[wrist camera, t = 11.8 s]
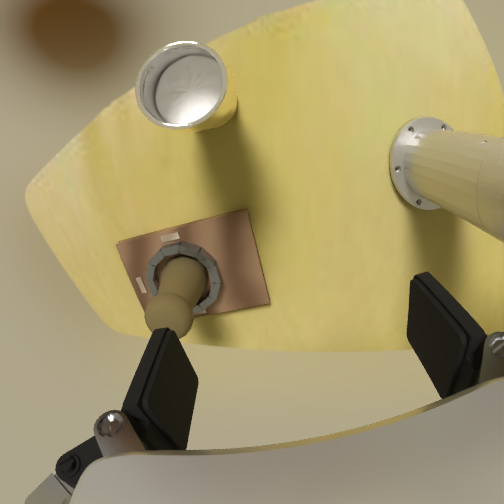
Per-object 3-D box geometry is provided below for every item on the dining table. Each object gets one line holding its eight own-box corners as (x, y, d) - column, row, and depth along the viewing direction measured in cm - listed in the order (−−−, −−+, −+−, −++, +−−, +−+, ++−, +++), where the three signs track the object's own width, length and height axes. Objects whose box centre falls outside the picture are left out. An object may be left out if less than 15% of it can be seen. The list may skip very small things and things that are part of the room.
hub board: (246, 208, 36) (246, 211, 34) (269, 298, 41) (269, 304, 39) (119, 241, 38) (114, 245, 36) (152, 319, 42) (149, 324, 41)
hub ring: (208, 234, 36) (206, 238, 34) (229, 300, 39) (228, 306, 38) (139, 251, 37) (135, 255, 35) (164, 311, 40) (162, 317, 39)
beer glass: (252, 91, 30) (250, 61, 16) (222, 141, 33) (199, 149, 19) (199, 66, 29) (162, 26, 15) (171, 116, 31) (116, 110, 17)
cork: (218, 276, 38) (206, 329, 28) (189, 303, 40) (171, 357, 30) (183, 245, 36) (158, 289, 26) (155, 274, 38) (126, 323, 28)
